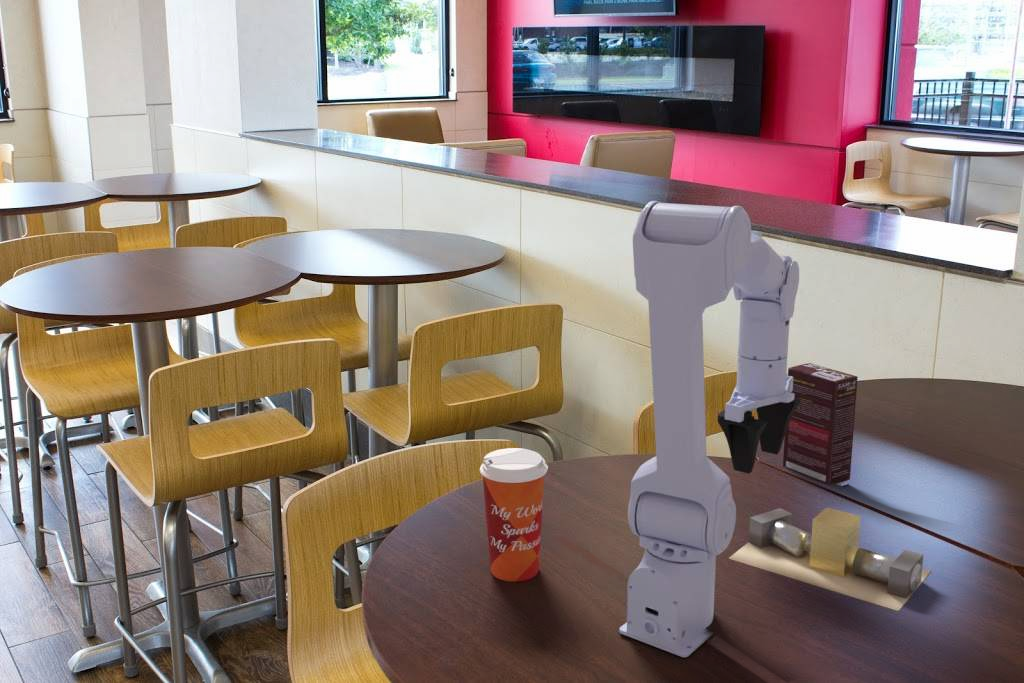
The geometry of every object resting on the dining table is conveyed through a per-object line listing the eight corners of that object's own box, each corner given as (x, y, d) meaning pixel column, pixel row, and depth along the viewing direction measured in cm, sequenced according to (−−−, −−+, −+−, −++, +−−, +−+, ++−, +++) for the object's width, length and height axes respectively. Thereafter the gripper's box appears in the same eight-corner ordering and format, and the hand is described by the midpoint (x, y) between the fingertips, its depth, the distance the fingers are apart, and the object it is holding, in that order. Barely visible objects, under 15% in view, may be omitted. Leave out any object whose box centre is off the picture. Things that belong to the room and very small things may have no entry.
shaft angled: (812, 554, 119) (813, 530, 119) (794, 560, 118) (795, 536, 117) (771, 533, 125) (772, 510, 124) (753, 539, 123) (754, 516, 123)
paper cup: (491, 590, 114) (488, 474, 111) (475, 560, 122) (472, 450, 118) (557, 581, 116) (557, 466, 113) (537, 551, 124) (537, 443, 120)
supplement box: (851, 484, 142) (860, 375, 138) (828, 492, 139) (836, 382, 135) (802, 465, 149) (809, 361, 145) (780, 473, 146) (786, 367, 142)
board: (897, 621, 107) (901, 583, 106) (727, 567, 119) (729, 533, 118) (930, 580, 115) (933, 545, 114) (768, 534, 127) (770, 501, 126)
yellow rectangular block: (843, 577, 114) (847, 528, 112) (809, 567, 116) (812, 519, 115) (856, 564, 117) (860, 516, 115) (823, 554, 119) (826, 507, 118)
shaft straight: (919, 584, 112) (922, 560, 111) (910, 595, 110) (913, 570, 109) (861, 567, 116) (863, 543, 115) (851, 577, 114) (853, 553, 113)
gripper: (767, 374, 113) (761, 488, 117) (819, 346, 124) (812, 451, 127) (710, 363, 117) (706, 473, 121) (765, 337, 128) (759, 439, 132)
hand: (756, 461), depth 124 cm, fingers open, 7 cm apart
